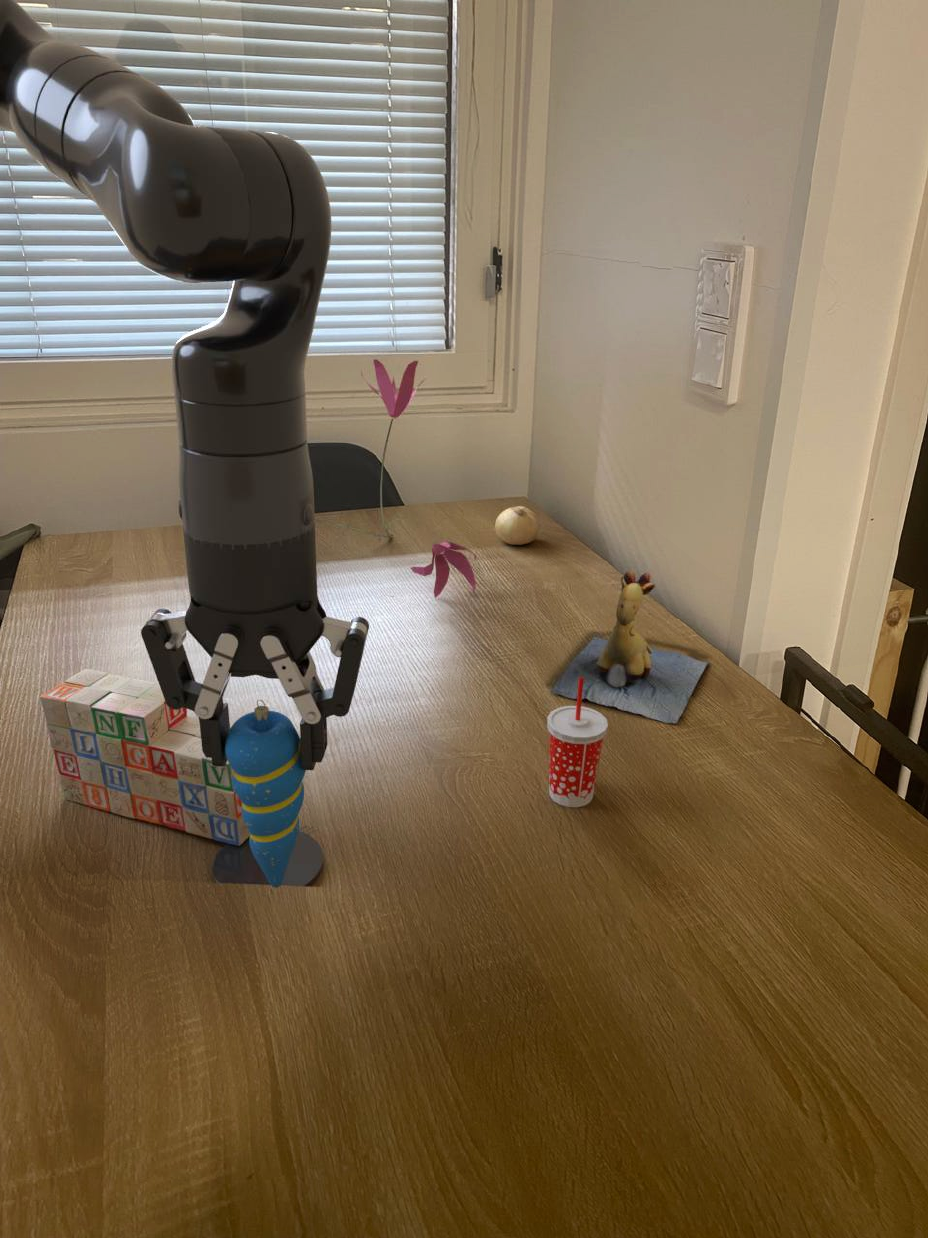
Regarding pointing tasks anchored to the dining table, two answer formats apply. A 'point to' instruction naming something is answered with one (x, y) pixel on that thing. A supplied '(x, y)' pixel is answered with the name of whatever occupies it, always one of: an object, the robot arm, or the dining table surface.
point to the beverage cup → (574, 752)
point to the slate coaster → (244, 869)
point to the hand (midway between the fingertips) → (266, 760)
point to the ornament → (268, 785)
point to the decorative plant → (395, 407)
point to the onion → (517, 526)
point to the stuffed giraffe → (632, 666)
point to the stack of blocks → (139, 756)
